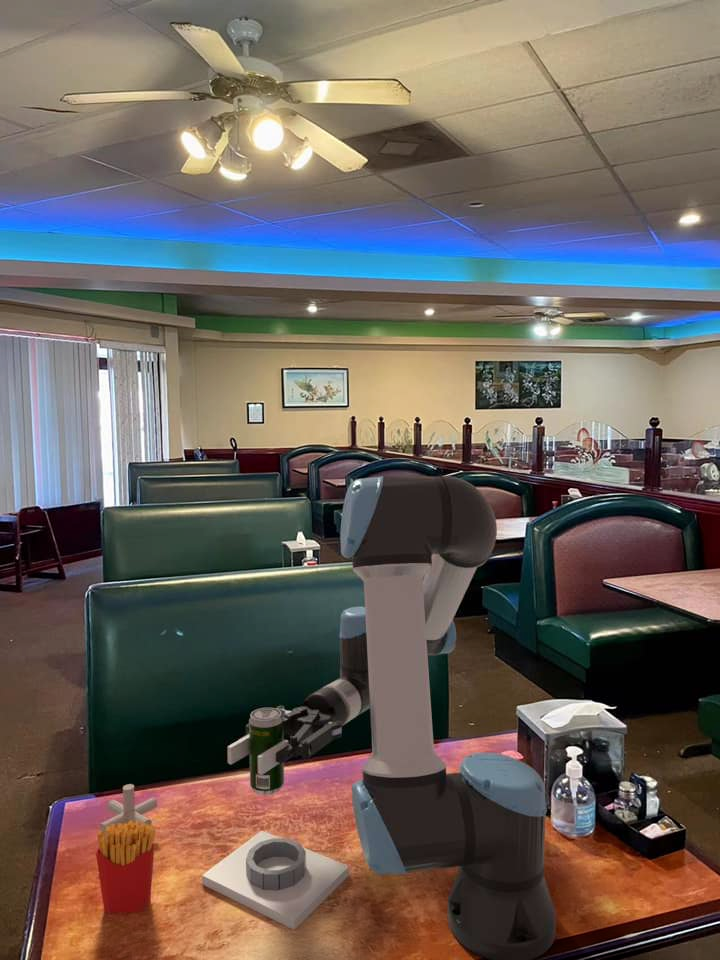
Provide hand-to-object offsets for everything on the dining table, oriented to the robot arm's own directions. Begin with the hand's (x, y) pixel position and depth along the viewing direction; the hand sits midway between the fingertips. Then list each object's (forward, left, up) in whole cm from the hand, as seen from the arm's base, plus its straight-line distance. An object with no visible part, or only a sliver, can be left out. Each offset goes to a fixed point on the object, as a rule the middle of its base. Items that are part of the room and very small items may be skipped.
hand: (244, 760), depth 107 cm
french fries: (+12, +13, -20) cm, 27 cm away
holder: (-3, -3, -20) cm, 21 cm away
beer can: (0, -5, -7) cm, 9 cm away
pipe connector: (+24, +3, -20) cm, 31 cm away
